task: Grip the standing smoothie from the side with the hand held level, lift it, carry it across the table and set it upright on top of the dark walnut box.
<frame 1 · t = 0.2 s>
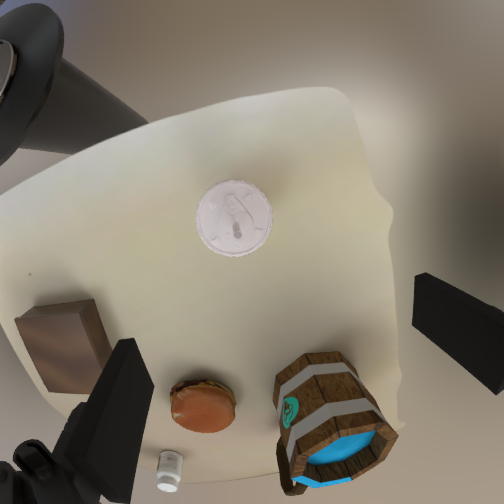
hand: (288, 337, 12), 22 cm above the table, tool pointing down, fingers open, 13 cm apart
pill bottle: (171, 455, 42), on the table
smoothie: (231, 208, 33), on the table
mug: (304, 399, 40), on the table
walnut box: (74, 340, 35), on the table
burger: (203, 397, 39), on the table
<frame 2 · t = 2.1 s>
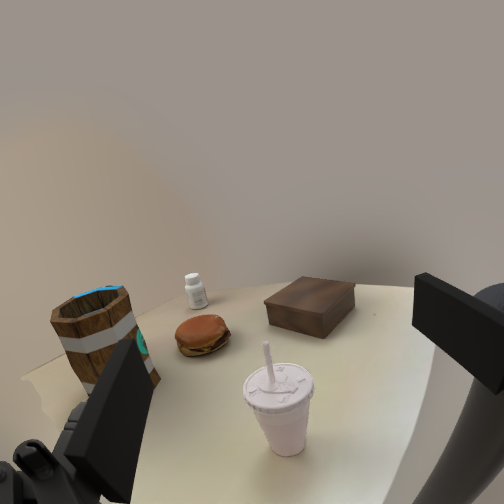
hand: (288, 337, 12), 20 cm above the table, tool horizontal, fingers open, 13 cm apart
pill bottle: (199, 306, 67), on the table
smoothie: (288, 444, 26), on the table
mug: (126, 375, 43), on the table
walnut box: (313, 315, 53), on the table
burger: (205, 344, 50), on the table
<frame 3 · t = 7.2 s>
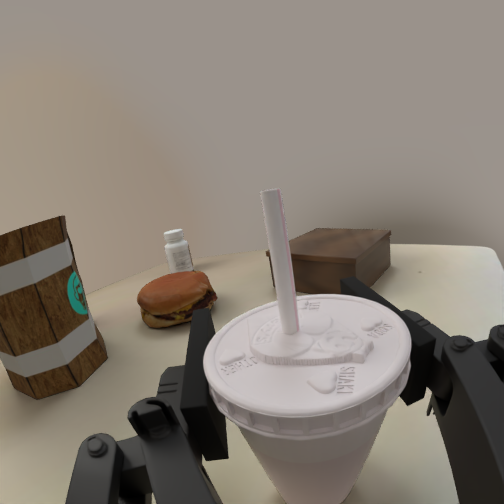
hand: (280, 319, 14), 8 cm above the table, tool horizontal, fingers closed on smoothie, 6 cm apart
pill bottle: (182, 273, 52), on the table
smoothie: (316, 485, 11), on the table, touching gripper
mug: (67, 351, 28), on the table
walnut box: (335, 276, 38), on the table
burger: (180, 313, 35), on the table
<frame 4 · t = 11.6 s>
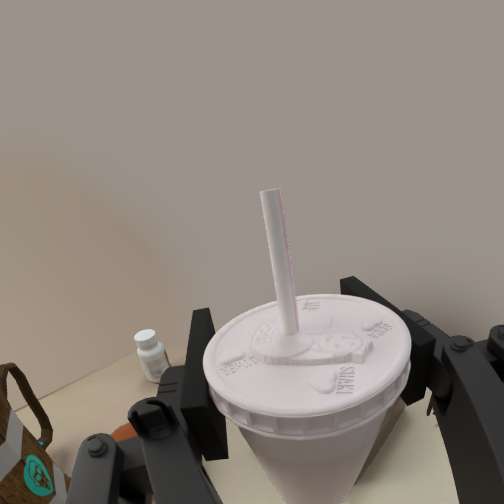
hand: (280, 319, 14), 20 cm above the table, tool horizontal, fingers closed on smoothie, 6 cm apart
pill bottle: (160, 376, 41), on the table
smoothie: (316, 485, 11), point 12 cm above the table, touching gripper
mug: (45, 489, 17), on the table
walnut box: (336, 426, 27), on the table
when the fingers open (13 cm above the table, at t = 15.8 s): smoothie stays where it is, resting on walnut box.
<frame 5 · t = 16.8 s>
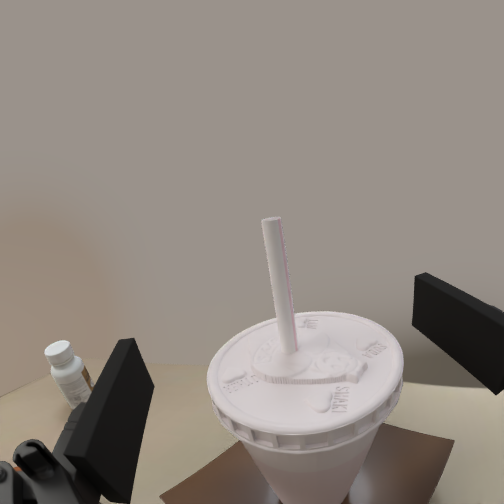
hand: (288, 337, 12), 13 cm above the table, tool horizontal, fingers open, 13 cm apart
pill bottle: (85, 401, 27), on the table
smoothie: (314, 490, 11), point 5 cm above the table, touching walnut box
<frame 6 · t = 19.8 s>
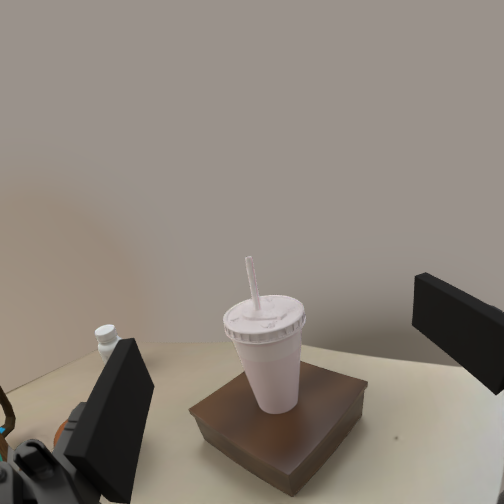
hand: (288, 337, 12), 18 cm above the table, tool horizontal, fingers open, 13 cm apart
pill bottle: (122, 371, 40), on the table
smoothie: (278, 401, 24), point 5 cm above the table, touching walnut box
mug: (6, 473, 15), on the table
walnut box: (283, 431, 26), on the table
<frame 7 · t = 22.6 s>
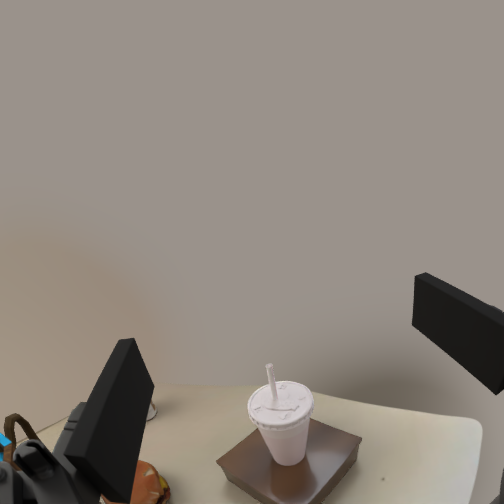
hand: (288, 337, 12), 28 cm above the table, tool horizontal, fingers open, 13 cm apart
pill bottle: (146, 414, 43), on the table
smoothie: (289, 454, 27), point 5 cm above the table, touching walnut box
walnut box: (292, 472, 28), on the table
burger: (140, 495, 26), on the table
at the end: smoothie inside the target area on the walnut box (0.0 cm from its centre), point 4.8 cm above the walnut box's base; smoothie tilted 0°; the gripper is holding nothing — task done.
